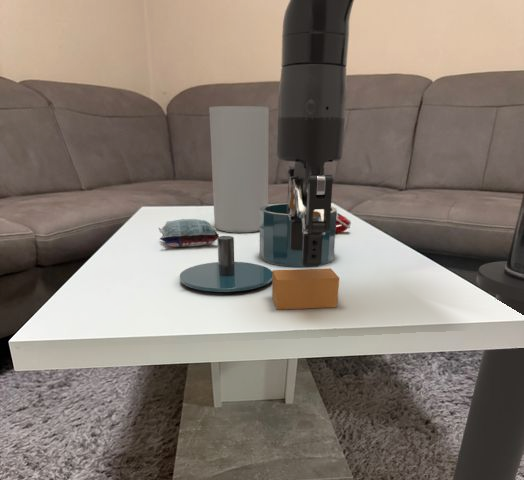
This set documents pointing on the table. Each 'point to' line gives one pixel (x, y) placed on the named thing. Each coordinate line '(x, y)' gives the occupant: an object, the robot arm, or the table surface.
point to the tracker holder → (342, 223)
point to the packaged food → (188, 233)
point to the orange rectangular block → (305, 288)
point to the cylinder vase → (239, 166)
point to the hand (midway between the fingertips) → (304, 257)
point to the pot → (288, 237)
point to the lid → (226, 272)
